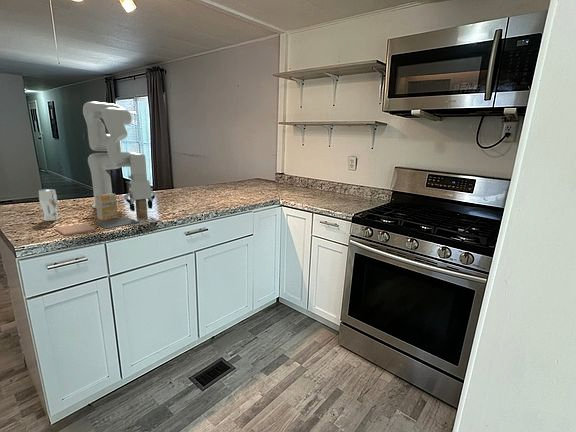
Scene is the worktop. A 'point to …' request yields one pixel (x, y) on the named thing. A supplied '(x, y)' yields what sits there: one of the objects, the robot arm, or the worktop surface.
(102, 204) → the supplement box
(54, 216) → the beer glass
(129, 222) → the mat
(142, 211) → the walnut block
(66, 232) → the pad
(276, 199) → the worktop surface
